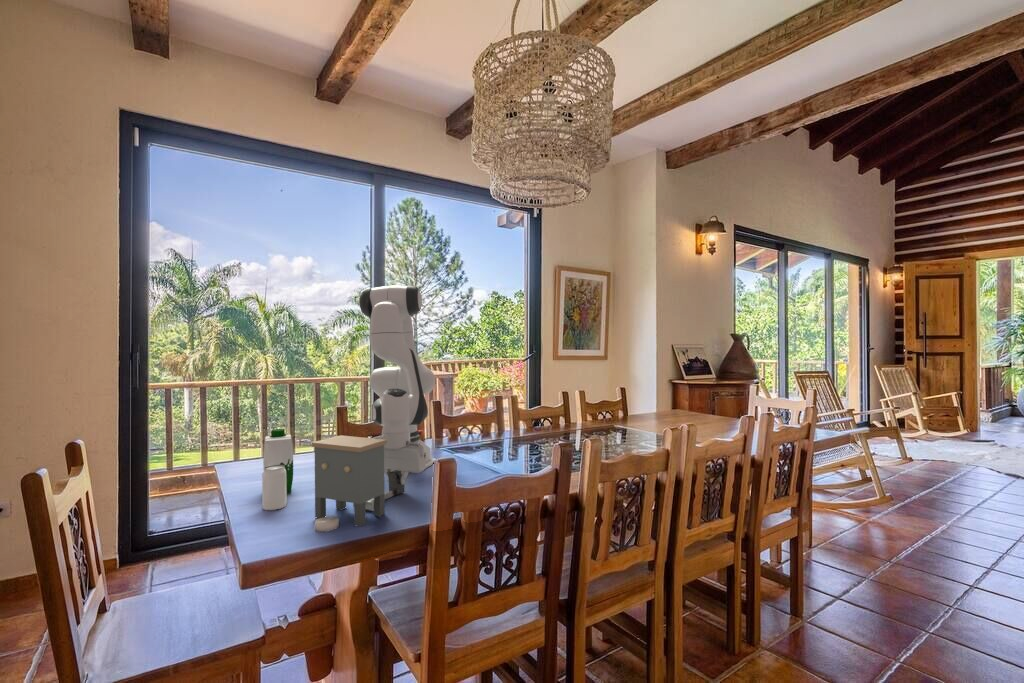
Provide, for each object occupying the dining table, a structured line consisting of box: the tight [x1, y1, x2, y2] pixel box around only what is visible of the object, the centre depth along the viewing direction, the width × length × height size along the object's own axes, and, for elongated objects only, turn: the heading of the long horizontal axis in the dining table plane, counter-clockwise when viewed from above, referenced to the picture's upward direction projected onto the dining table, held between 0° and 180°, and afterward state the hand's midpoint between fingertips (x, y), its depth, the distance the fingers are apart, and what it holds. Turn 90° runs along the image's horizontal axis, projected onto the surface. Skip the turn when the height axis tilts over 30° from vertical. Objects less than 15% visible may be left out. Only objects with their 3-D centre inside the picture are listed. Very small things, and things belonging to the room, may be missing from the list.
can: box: [261, 465, 288, 511], centre depth 149 cm, size 6×6×12 cm
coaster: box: [314, 516, 340, 532], centre depth 133 cm, size 6×6×2 cm
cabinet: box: [311, 434, 387, 527], centre depth 141 cm, size 11×17×21 cm, turn 66°
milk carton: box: [262, 428, 294, 495], centre depth 164 cm, size 9×9×20 cm
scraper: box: [352, 470, 405, 511], centre depth 155 cm, size 18×7×7 cm, turn 155°
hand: (396, 483), depth 161 cm, fingers closed on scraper, 3 cm apart
